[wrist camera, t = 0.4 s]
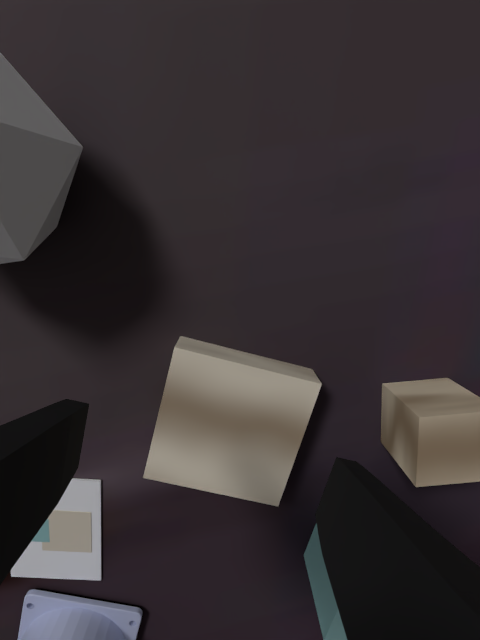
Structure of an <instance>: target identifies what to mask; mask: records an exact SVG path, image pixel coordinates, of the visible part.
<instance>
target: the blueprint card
mask: <svg viewBox="0 0 480 640" xmlns="http://www.w3.org/2000/svg"><path fill="white" fill-rule="evenodd" d="M11 577H32V578H55V579H78V580H101V579H102V562H101V480H95V479H78V478H72V480H71V481H70V483H69V485H68V487H67V489H66V490H65V492H64V494H63V496H62V497H61V499H60V501H59V503H58V504H57V506H56V507H55V509H54V510H53V511H52V513H51V514H50V516H49V517H48V519H47V520H46V521H45V523H44V524H43V526H42V527H41V528H40V530H39V531H38V533H37V534H36V535H35V537H34V538H33V540H32V541H31V542H30V544H29V545H28V547H27V548H26V549H25V551H24V552H23V554H22V555H21V556H20V558H19V559H18V561H17V562H16V563H15V565H14V566H13V568H12V569H11Z"/></svg>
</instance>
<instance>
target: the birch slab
mask: <svg viewBox="0 0 480 640" xmlns="http://www.w3.org/2000/svg"><path fill="white" fill-rule="evenodd" d="M321 385H322V383H321V382H320V380H319V379H318V377H317V376H316V374H315V373H314V371H313V370H312V369H309V368H305V367H301V366H297V365H293V364H289V363H286V362H282V361H278V360H274V359H270V358H266V357H262V356H258V355H254V354H250V353H246V352H242V351H238V350H234V349H230V348H226V347H222V346H218V345H214V344H210V343H206V342H203V341H199V340H195V339H191V338H187V337H183V336H180V338H179V340H178V342H177V344H176V345H175V347H174V351H173V356H172V360H171V364H170V368H169V372H168V376H167V381H166V385H165V389H164V393H163V397H162V401H161V406H160V410H159V414H158V418H157V422H156V426H155V431H154V435H153V439H152V443H151V447H150V451H149V456H148V460H147V464H146V468H145V472H144V476H143V478H147V479H151V480H156V481H161V482H165V483H170V484H175V485H179V486H184V487H189V488H194V489H198V490H203V491H208V492H212V493H217V494H222V495H226V496H231V497H236V498H241V499H245V500H250V501H255V502H259V503H264V504H269V505H273V506H279V503H280V500H281V497H282V494H283V492H284V489H285V486H286V483H287V480H288V478H289V475H290V472H291V469H292V466H293V464H294V461H295V458H296V455H297V452H298V450H299V447H300V444H301V441H302V438H303V436H304V433H305V430H306V427H307V424H308V422H309V419H310V416H311V413H312V410H313V408H314V405H315V402H316V399H317V396H318V394H319V391H320V388H321Z"/></svg>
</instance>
